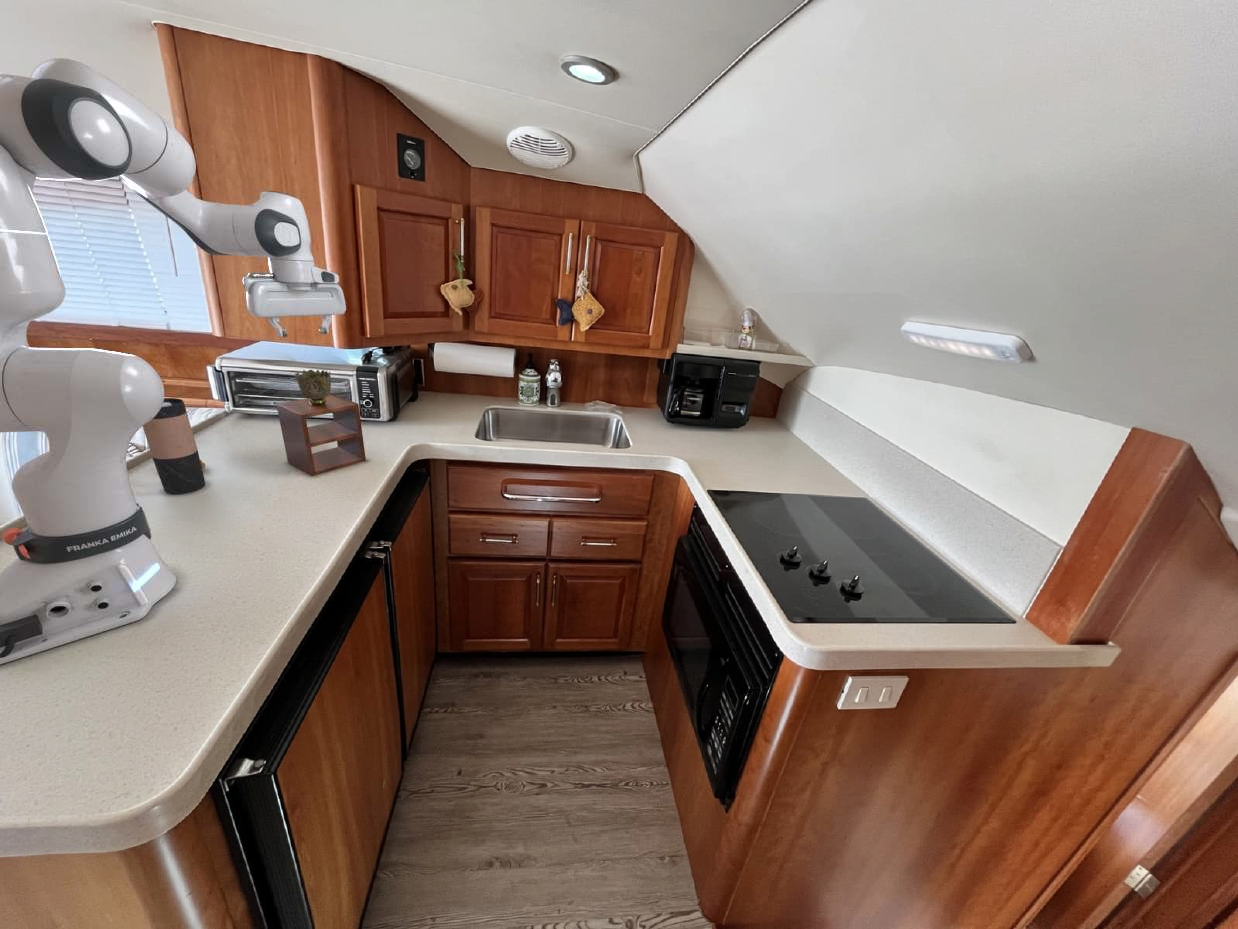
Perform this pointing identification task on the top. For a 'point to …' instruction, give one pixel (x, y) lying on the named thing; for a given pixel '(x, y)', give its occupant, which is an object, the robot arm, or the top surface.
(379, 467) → the top surface
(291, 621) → the top surface
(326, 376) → the cup
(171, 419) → the travel mug
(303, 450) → the shelf
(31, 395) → the robot arm
